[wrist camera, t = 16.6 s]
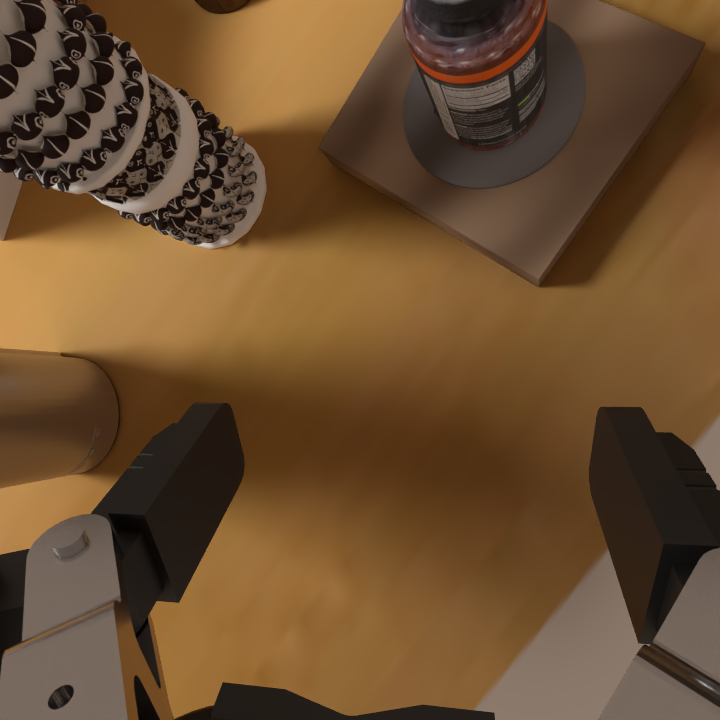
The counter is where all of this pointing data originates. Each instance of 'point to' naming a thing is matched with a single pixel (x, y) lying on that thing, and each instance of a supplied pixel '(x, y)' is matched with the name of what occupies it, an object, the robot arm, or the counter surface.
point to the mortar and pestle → (220, 5)
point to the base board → (531, 151)
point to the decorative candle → (117, 129)
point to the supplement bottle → (481, 65)
